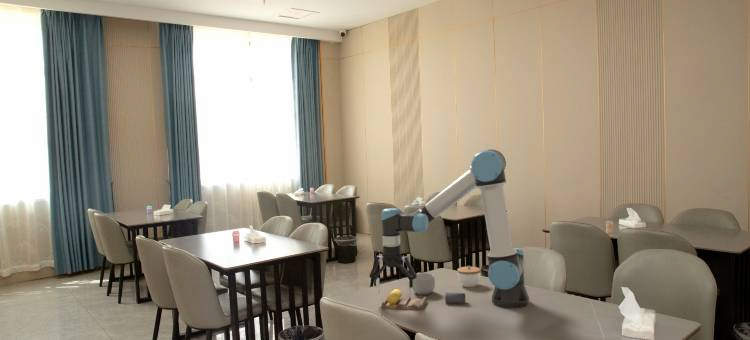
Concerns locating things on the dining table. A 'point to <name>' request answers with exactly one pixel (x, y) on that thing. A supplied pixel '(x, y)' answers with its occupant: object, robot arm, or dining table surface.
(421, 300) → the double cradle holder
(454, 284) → the dining table surface
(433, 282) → the teacup
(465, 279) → the lidded jar
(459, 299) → the gray cylinder
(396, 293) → the yellow foam roll
